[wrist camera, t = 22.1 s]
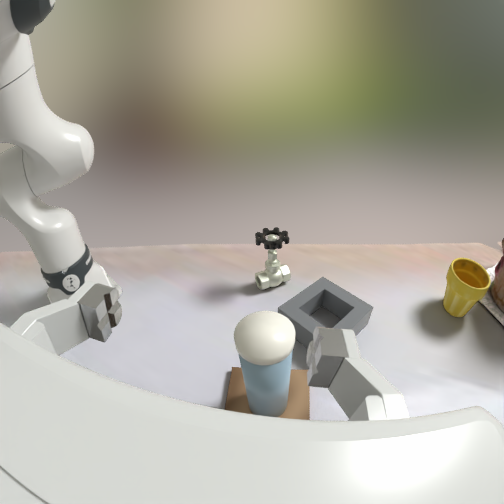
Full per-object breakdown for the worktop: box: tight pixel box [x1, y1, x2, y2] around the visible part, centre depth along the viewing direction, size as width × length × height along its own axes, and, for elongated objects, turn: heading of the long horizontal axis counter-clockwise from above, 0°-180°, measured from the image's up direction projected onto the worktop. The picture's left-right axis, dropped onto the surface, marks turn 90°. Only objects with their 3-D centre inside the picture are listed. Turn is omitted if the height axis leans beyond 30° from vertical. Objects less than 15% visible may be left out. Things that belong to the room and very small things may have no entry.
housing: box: [278, 277, 373, 348], centre depth 47 cm, size 12×12×4 cm
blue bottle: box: [234, 311, 295, 417], centre depth 30 cm, size 6×6×17 cm
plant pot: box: [443, 258, 491, 317], centre depth 44 cm, size 10×10×10 cm
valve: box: [255, 228, 291, 290], centre depth 55 cm, size 7×7×12 cm
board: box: [225, 367, 309, 420], centre depth 35 cm, size 12×12×1 cm
